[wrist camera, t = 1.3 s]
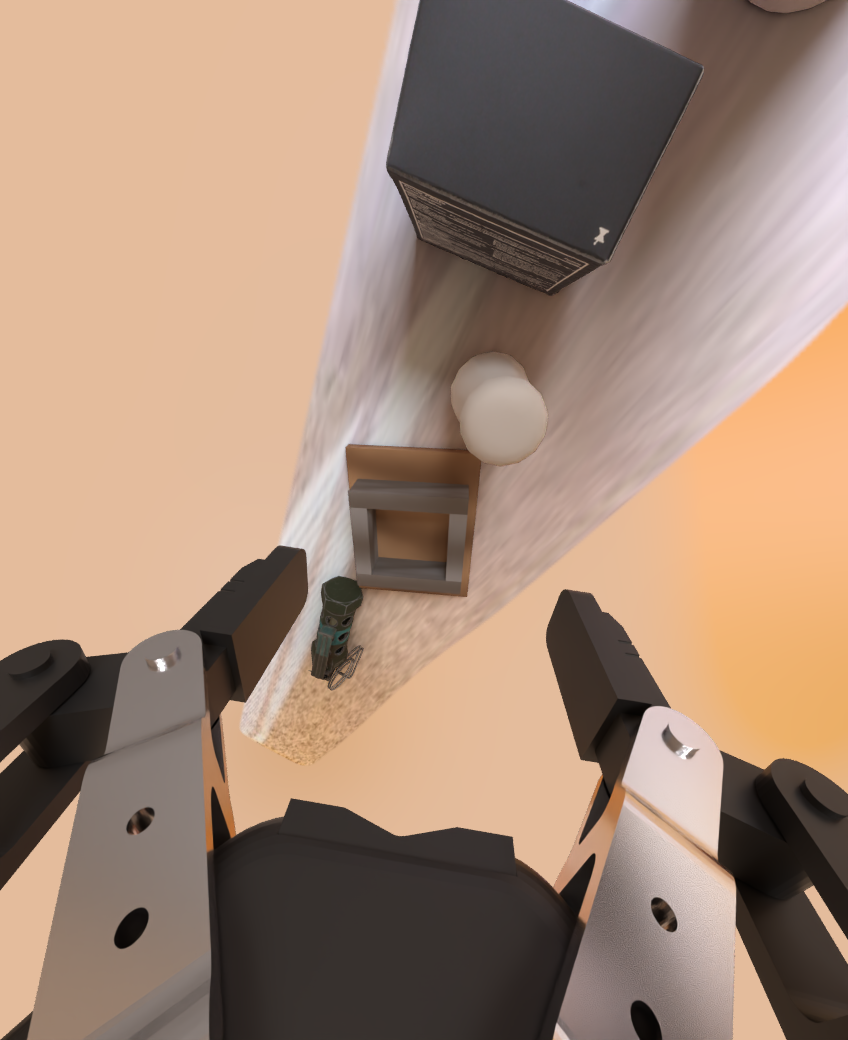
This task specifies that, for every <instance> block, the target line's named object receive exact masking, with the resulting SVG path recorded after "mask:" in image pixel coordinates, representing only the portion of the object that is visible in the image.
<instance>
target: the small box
mask: <svg viewBox="0 0 848 1040" xmlns="http://www.w3.org/2000/svg"><path fill="white" fill-rule="evenodd" d="M703 74H704V67H703V66H702V65H701V64H699V63H697V62H694V61H692V60H690V59H688V58H686V57H684V56H682V55H680V54H678V53H676V52H674V51H672V50H670V49H668V48H666V47H664V46H662V45H660V44H657V43H655V42H653V41H651V40H649V39H647V38H645V37H642V36H640V35H638V34H636V33H634V32H632V31H630V30H628V29H626V28H624V27H622V26H620V25H617V24H615V23H613V22H611V21H609V20H607V19H605V18H603V17H601V16H599V15H597V14H595V13H593V12H591V11H588V10H586V9H584V8H582V7H580V6H578V5H576V4H574V3H572V2H570V1H568V0H420V2H419V6H418V12H417V17H416V21H415V25H414V30H413V35H412V40H411V44H410V48H409V53H408V59H407V64H406V68H405V74H404V78H403V83H402V88H401V93H400V97H399V102H398V107H397V112H396V117H395V122H394V127H393V132H392V137H391V142H390V146H389V151H388V156H387V162H386V168H387V171H388V173H389V175H390V177H391V178H392V179H393V181H394V183H395V185H396V186H397V189H398V191H399V194H400V195H401V198H402V200H403V203H404V205H405V207H406V210H407V212H408V214H409V217H410V219H411V221H412V224H413V226H414V229H415V231H416V234H417V238H418V239H420V240H423V241H425V242H428V243H429V244H431V245H434V246H436V247H438V248H441V249H443V250H445V251H448V252H450V253H452V254H455V255H457V256H459V257H461V258H462V259H467V260H468V261H471V262H473V263H475V264H478V265H480V266H483V267H485V268H487V269H489V270H492V271H494V272H496V273H497V274H500V275H503V276H505V277H508V278H510V279H512V280H515V281H517V282H518V283H522V284H524V285H526V286H529V287H532V288H534V289H537V290H539V291H541V292H544V293H546V294H548V295H550V296H552V295H554V294H556V293H558V292H559V290H560V289H562V288H563V287H565V286H567V285H569V284H571V283H572V282H574V281H576V280H578V279H579V278H581V277H583V276H585V275H586V274H588V273H590V272H591V271H593V270H595V269H596V268H598V267H600V266H601V265H605V264H607V263H609V262H610V261H611V259H612V257H613V255H614V252H615V250H616V248H617V246H618V244H619V242H620V240H621V238H622V236H623V234H624V232H625V230H626V228H627V226H628V224H629V222H630V220H631V218H632V216H633V214H634V212H635V210H636V208H637V206H638V204H639V202H640V200H641V199H642V196H643V194H644V192H645V190H646V188H647V186H648V184H649V182H650V180H651V178H652V176H653V174H654V172H655V170H656V168H657V166H658V165H659V162H660V160H661V158H662V156H663V154H664V152H665V150H666V148H667V146H668V144H669V143H670V141H671V139H672V136H673V134H674V132H675V130H676V128H677V126H678V124H679V122H680V120H681V118H682V117H683V115H684V113H685V111H686V108H687V106H688V104H689V102H690V100H691V98H692V96H693V95H694V93H695V91H696V89H697V86H698V84H699V82H700V80H701V78H702V76H703Z"/></svg>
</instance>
